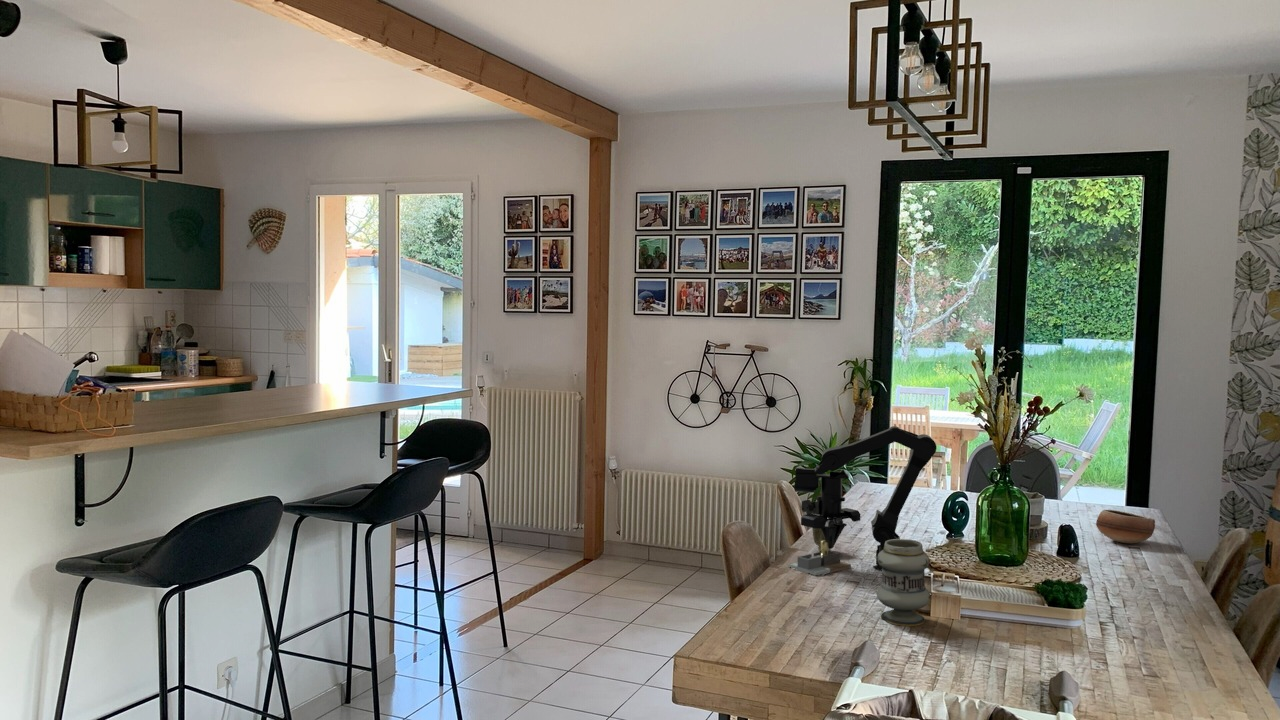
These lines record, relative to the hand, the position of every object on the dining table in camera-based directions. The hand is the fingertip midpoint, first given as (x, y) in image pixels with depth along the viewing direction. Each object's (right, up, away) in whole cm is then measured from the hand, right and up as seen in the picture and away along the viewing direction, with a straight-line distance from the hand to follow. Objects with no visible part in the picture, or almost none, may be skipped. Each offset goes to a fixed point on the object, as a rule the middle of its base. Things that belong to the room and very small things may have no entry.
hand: (830, 548), depth 267 cm
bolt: (-4, -4, -3) cm, 6 cm away
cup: (+1, -4, +16) cm, 17 cm away
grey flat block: (-1, -5, -1) cm, 5 cm away
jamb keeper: (-7, -5, -5) cm, 10 cm away
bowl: (+98, -4, +30) cm, 102 cm away
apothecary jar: (+7, -7, -47) cm, 48 cm away
